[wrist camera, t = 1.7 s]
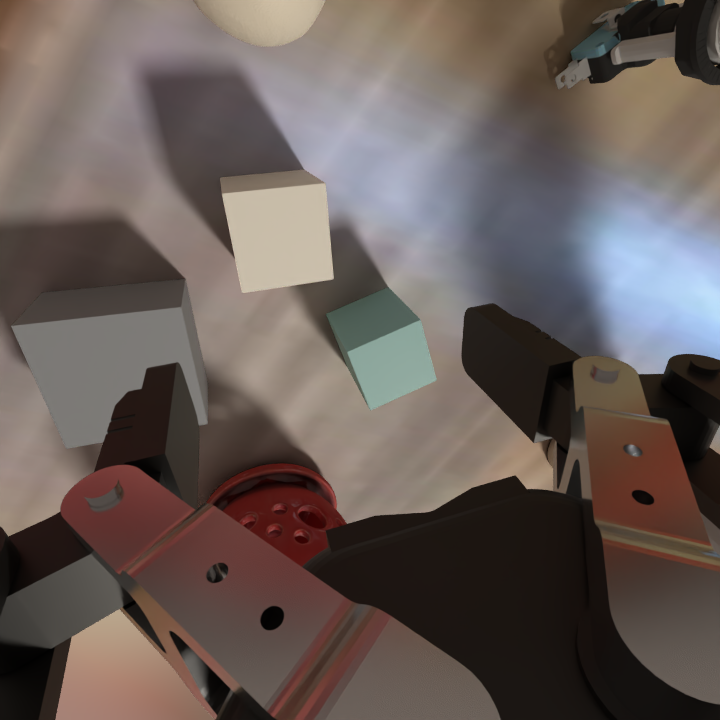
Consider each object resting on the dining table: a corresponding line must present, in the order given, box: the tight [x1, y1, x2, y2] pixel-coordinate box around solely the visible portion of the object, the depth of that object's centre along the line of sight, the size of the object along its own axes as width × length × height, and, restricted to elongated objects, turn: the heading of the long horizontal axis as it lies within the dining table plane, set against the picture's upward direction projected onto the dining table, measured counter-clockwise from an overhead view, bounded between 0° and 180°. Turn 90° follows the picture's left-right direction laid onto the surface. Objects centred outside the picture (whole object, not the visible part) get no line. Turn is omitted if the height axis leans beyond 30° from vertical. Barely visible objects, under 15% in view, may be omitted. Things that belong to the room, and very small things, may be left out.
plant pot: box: [206, 463, 347, 567], centre depth 34 cm, size 13×13×12 cm
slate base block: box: [11, 279, 208, 449], centre depth 27 cm, size 8×8×5 cm
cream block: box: [220, 170, 334, 293], centre depth 25 cm, size 5×5×6 cm
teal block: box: [326, 287, 436, 410], centre depth 31 cm, size 5×5×6 cm
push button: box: [555, 0, 720, 89], centre depth 24 cm, size 7×5×10 cm
